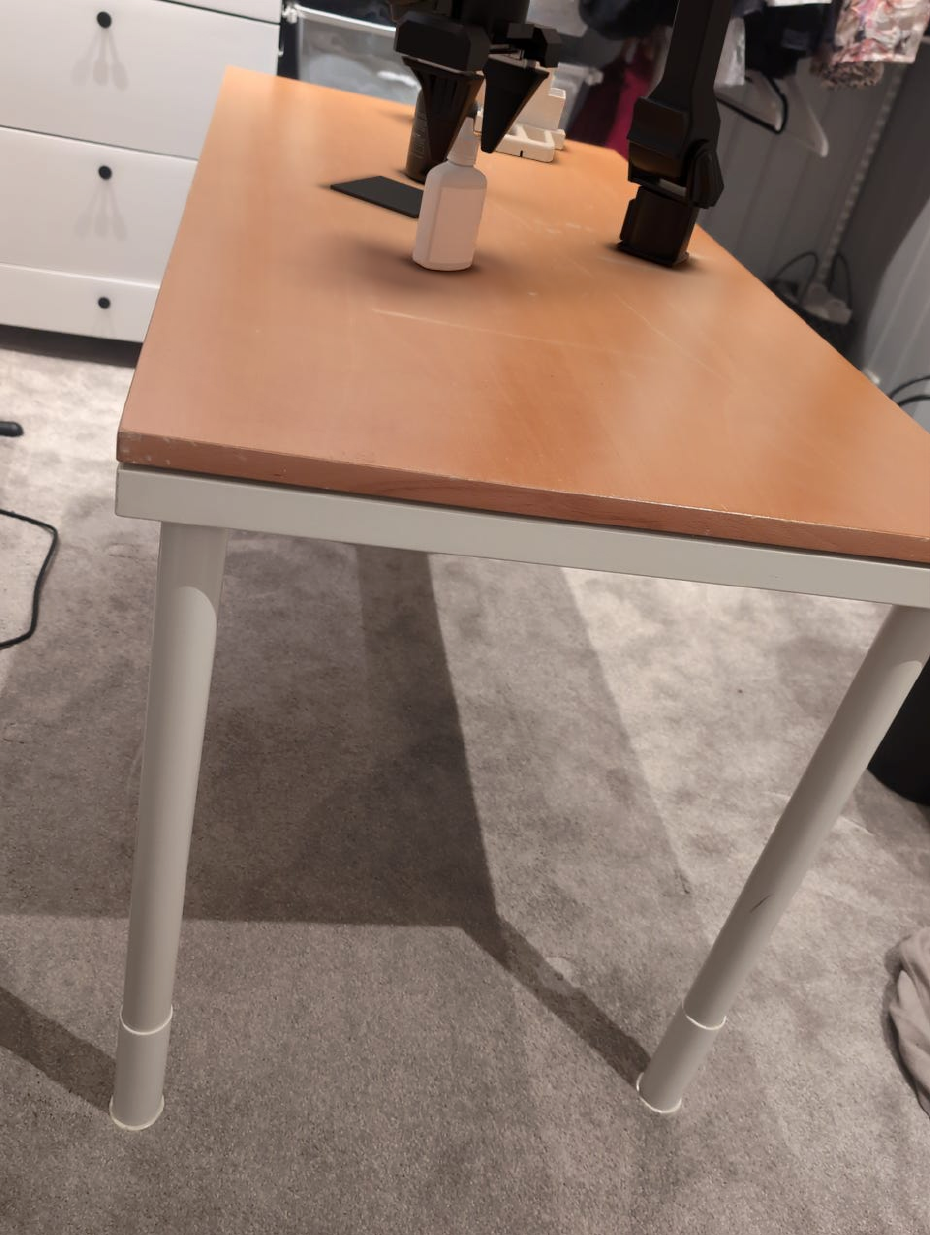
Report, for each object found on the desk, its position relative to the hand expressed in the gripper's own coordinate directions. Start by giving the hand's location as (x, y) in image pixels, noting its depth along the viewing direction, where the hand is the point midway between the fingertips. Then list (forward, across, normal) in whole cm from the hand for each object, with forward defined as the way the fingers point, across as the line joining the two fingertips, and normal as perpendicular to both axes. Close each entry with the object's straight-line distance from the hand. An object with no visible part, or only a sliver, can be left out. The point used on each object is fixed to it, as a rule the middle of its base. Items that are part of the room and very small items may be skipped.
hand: (462, 157), depth 85 cm
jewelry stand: (+9, -60, -26) cm, 66 cm away
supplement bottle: (+9, -28, -16) cm, 33 cm away
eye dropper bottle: (+9, 0, 0) cm, 9 cm away
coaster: (+9, -16, -14) cm, 23 cm away
